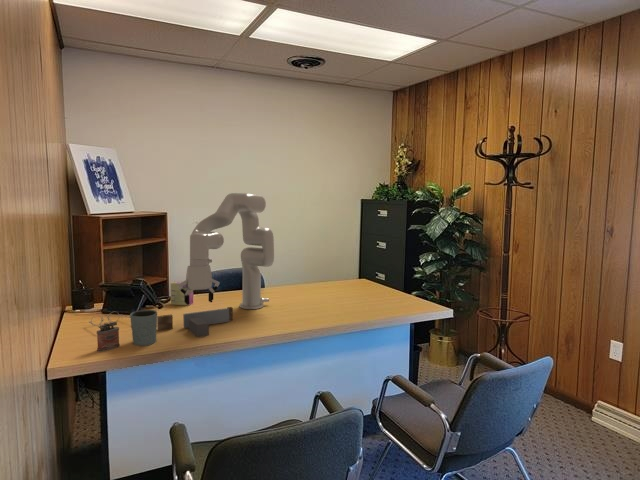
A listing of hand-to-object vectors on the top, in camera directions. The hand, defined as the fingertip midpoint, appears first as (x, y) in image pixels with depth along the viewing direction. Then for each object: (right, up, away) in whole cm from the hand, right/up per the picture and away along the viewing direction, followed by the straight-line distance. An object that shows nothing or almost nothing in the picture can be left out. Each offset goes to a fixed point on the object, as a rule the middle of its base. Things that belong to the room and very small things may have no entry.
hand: (199, 302), depth 179 cm
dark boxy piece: (-1, -14, +4) cm, 14 cm away
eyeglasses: (-40, -13, +8) cm, 42 cm away
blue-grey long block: (-1, -12, +15) cm, 19 cm away
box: (-23, -8, +49) cm, 54 cm away
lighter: (-30, -15, -16) cm, 37 cm away
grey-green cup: (-20, -15, -8) cm, 26 cm away
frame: (-5, -12, +15) cm, 20 cm away
